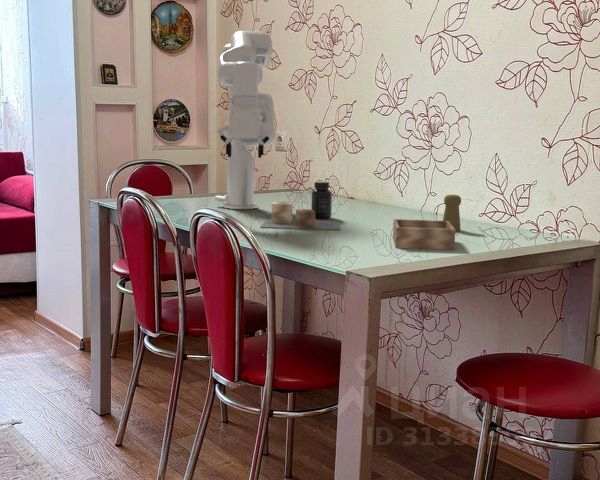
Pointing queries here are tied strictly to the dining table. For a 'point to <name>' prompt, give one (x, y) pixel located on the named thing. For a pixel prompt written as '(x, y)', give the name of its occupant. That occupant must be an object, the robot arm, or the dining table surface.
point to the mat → (318, 226)
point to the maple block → (281, 212)
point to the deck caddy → (423, 234)
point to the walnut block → (305, 218)
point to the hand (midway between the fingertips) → (244, 157)
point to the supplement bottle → (321, 200)
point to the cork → (452, 211)
